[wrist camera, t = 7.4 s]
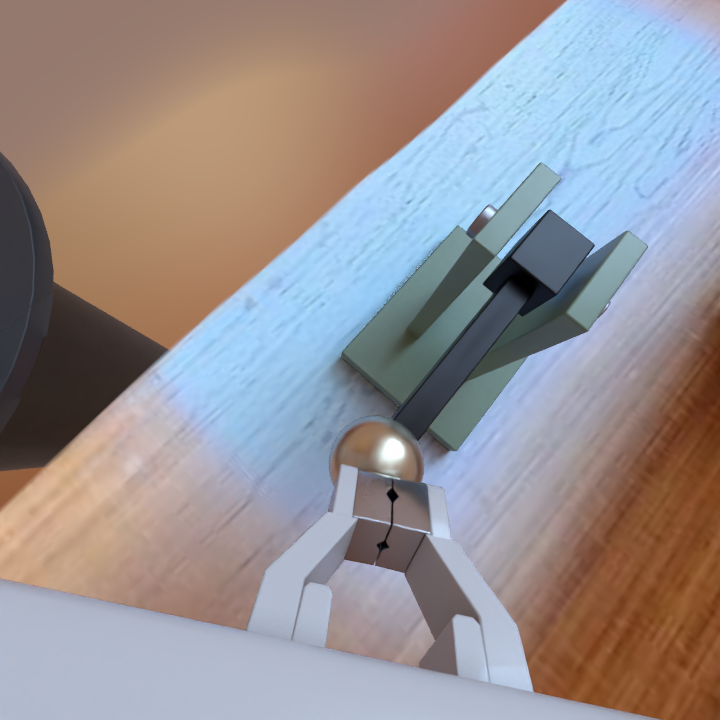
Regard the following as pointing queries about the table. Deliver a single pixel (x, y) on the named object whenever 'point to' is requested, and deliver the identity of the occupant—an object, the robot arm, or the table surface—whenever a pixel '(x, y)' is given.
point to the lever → (465, 350)
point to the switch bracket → (467, 296)
